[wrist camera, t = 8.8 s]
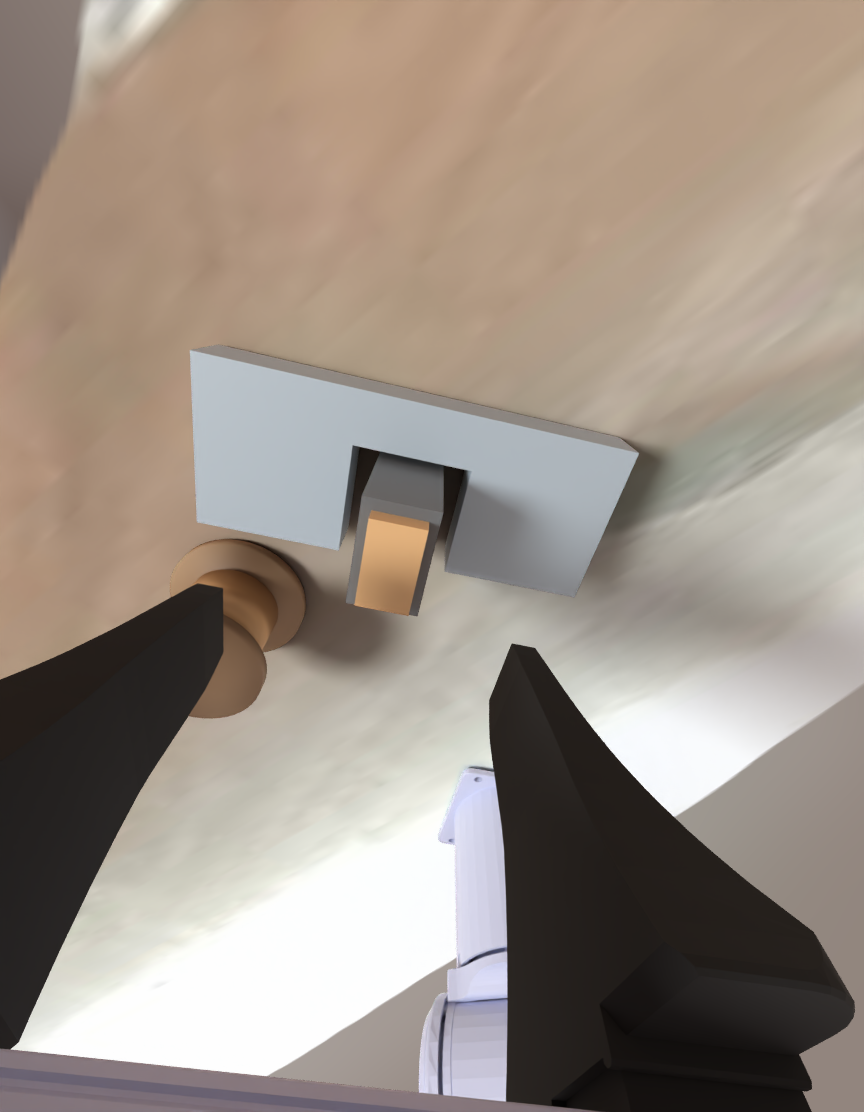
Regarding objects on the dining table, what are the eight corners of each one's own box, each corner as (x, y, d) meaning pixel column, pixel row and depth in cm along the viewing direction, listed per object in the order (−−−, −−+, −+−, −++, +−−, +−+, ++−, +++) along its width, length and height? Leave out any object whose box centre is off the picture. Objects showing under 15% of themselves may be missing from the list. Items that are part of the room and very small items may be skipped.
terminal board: (619, 437, 19) (639, 453, 17) (563, 571, 22) (574, 597, 20) (218, 344, 17) (189, 350, 15) (220, 501, 20) (196, 522, 18)
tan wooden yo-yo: (311, 554, 22) (275, 622, 17) (301, 655, 25) (268, 735, 20) (172, 526, 21) (97, 589, 16) (179, 633, 24) (118, 710, 20)
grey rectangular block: (443, 454, 19) (443, 521, 13) (424, 537, 21) (416, 627, 15) (384, 441, 19) (358, 503, 13) (370, 526, 21) (342, 613, 15)
